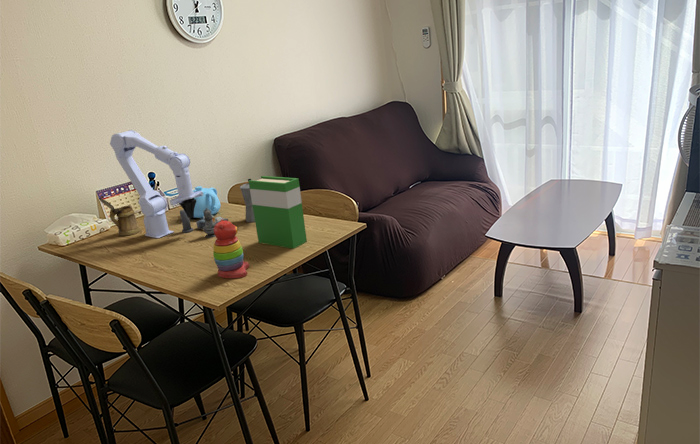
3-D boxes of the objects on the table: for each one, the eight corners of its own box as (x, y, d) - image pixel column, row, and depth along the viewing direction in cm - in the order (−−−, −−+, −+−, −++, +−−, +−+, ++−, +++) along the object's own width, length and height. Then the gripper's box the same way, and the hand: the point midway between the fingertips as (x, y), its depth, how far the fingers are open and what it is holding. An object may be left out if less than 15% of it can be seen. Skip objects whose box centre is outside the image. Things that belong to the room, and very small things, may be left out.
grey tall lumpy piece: (205, 234, 212) (200, 206, 208) (220, 232, 212) (214, 204, 208) (202, 239, 206) (197, 210, 202) (217, 237, 206) (212, 208, 203)
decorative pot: (218, 218, 232) (213, 189, 228) (182, 222, 231) (176, 193, 227) (224, 208, 247) (219, 180, 243) (190, 212, 247) (184, 184, 242)
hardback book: (258, 242, 195) (248, 180, 188) (271, 236, 201) (262, 175, 194) (293, 248, 185) (284, 183, 178) (306, 241, 191) (298, 178, 184)
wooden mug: (105, 237, 221) (94, 197, 215) (135, 227, 230) (125, 188, 225) (114, 240, 215) (103, 199, 210) (144, 230, 225) (135, 190, 219)
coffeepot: (239, 218, 228) (232, 179, 222) (258, 213, 233) (252, 174, 227) (255, 226, 216) (248, 184, 210) (275, 220, 221) (269, 179, 215)
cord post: (180, 232, 218) (175, 211, 215) (188, 228, 221) (184, 208, 218) (186, 233, 215) (182, 212, 212) (195, 230, 218) (191, 209, 216)
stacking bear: (246, 277, 165) (237, 224, 159) (214, 281, 165) (204, 228, 159) (250, 264, 175) (241, 214, 170) (220, 267, 175) (210, 217, 169)
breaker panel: (197, 228, 220) (195, 218, 219) (212, 222, 226) (210, 212, 225) (214, 231, 214) (212, 221, 212) (229, 225, 220) (227, 215, 218)
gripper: (174, 190, 198) (181, 224, 202) (205, 181, 209) (211, 213, 213) (164, 189, 202) (171, 222, 206) (194, 180, 213) (200, 211, 217)
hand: (190, 217), depth 210 cm, fingers closed
